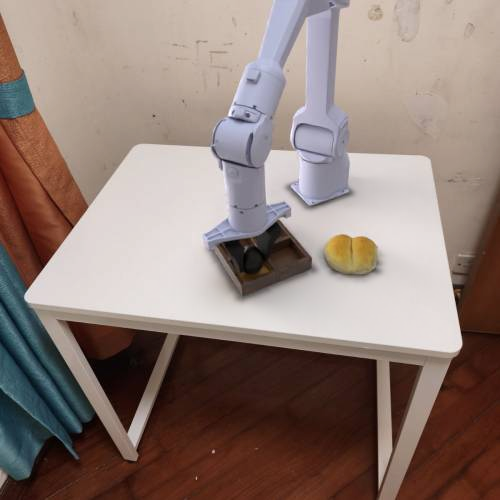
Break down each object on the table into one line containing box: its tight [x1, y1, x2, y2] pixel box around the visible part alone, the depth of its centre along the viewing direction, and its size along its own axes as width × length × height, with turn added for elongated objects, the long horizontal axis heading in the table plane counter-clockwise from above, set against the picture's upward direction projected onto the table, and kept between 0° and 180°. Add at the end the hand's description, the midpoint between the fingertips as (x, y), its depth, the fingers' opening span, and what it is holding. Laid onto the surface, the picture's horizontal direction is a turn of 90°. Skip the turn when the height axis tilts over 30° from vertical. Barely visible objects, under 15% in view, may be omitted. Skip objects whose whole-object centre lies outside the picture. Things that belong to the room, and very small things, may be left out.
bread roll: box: [323, 233, 379, 275], centre depth 76 cm, size 8×9×4 cm
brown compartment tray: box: [213, 218, 313, 297], centre depth 78 cm, size 13×13×3 cm
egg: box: [243, 245, 263, 275], centre depth 73 cm, size 4×4×5 cm
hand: (251, 263), depth 74 cm, fingers closed on egg, 4 cm apart
